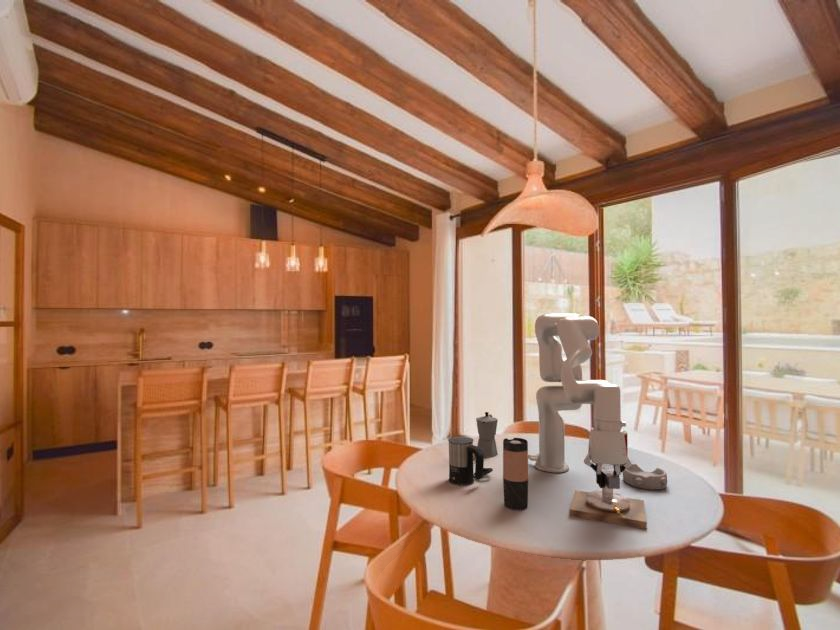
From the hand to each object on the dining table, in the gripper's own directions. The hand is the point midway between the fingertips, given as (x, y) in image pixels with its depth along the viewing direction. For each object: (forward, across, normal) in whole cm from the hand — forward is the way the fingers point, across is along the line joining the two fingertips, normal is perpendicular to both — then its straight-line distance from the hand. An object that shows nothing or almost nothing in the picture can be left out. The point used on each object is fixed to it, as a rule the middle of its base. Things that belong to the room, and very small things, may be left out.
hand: (607, 486), depth 133 cm
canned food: (+8, -17, -56) cm, 59 cm away
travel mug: (+8, +27, 0) cm, 28 cm away
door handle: (+5, 0, +1) cm, 5 cm away
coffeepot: (+8, +36, -53) cm, 65 cm away
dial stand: (+8, 0, 0) cm, 8 cm away
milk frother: (+8, +42, -21) cm, 48 cm away
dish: (+8, -18, -26) cm, 33 cm away
